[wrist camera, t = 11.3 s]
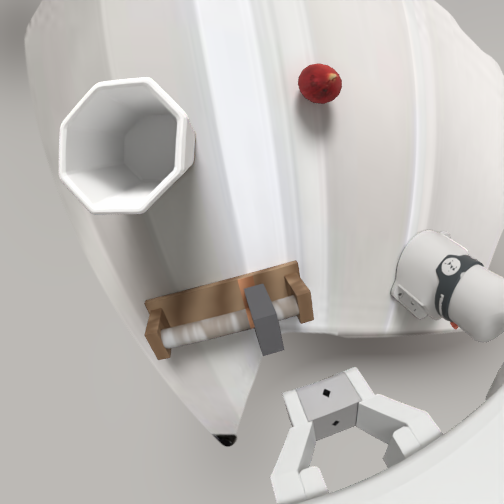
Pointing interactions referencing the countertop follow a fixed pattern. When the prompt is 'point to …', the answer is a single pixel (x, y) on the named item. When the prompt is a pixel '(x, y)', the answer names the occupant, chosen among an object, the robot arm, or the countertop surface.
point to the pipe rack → (223, 308)
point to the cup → (124, 146)
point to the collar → (264, 319)
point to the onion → (319, 83)
